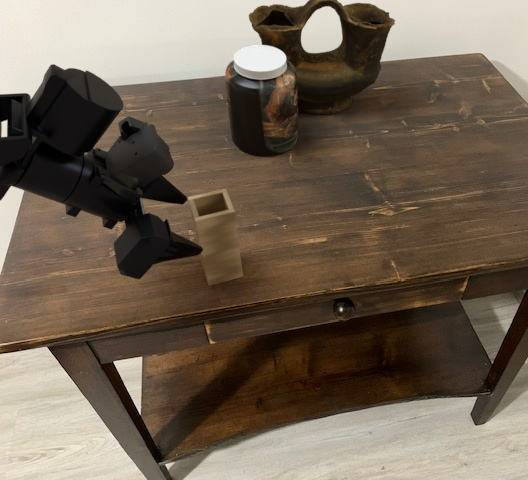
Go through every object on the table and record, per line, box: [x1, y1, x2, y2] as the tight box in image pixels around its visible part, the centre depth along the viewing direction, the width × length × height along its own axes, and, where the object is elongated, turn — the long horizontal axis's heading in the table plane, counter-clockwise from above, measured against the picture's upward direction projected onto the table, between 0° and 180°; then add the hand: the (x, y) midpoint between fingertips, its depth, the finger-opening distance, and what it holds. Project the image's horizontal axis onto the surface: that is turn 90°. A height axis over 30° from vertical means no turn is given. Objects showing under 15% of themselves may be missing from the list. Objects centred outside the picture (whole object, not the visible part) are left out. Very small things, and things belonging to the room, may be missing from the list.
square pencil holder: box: [187, 188, 244, 287], centre depth 69 cm, size 5×4×12 cm
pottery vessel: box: [248, 0, 396, 115], centre depth 95 cm, size 25×11×20 cm, turn 98°
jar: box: [224, 44, 299, 157], centre depth 89 cm, size 12×12×15 cm
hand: (192, 225), depth 66 cm, fingers open, 9 cm apart
